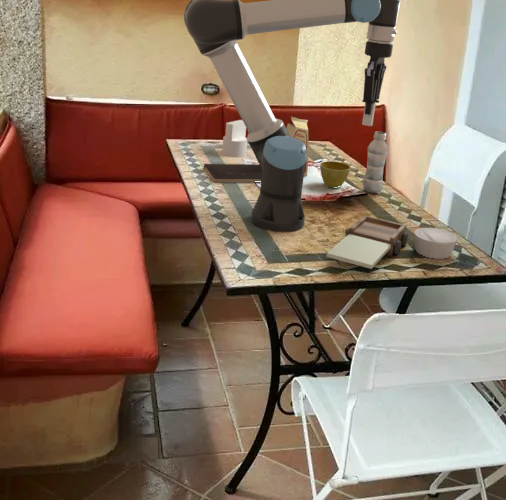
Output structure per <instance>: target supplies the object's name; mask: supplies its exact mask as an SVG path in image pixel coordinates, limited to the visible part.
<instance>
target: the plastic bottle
mask: <svg viewBox="0 0 506 500" xmlns="http://www.w3.org/2000/svg"><path fill="white" fill-rule="evenodd" d="M386 140H387V133H386V132H383V131H375V132H374V135H373V140H372V141H371V142H370V143H369V145H368V146H367V160H366V162H367V164H366V170H365V173H364V178H363V180H362V182H361V183H362V185H361V186H362V190H363V191H365V192H367V193H371V194H378V193H381V191H382V190H383V187H384V181H383V175H384V167H385V164H386V163H385V162H386V159H387V156H388V152H389V148H388V144H387V142H386Z"/></svg>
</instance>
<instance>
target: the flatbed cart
mask: <svg viewBox="0 0 506 500" xmlns="http://www.w3.org/2000/svg"><path fill="white" fill-rule="evenodd" d="M406 230H407V224H403V223H398V222H394V221H390V220H387V219H382V218H379V217H374V216H369V215H365V214H364V215H363V216H362V217H360V218H359V219H358V220H357V221H356V222H355V223H354V224H353V225H352V226H350V227H349V228H346V229H345V232H344V234H345V237H346V236H347V235H348V234H351V235H355V236H359V237H363V238H367V239H371V240H375V241H379V242H383V243H387V244H391V248H390V249H389V250H388V252H387V253H386V254H385V255H384V256H390V257H392V255H393V254H395V255H399V254H400V251H401V247H402V246H403V247H406V245H407V243H408V239H409V233H408V232H406ZM345 237H344V238H345Z"/></svg>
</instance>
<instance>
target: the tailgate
mask: <svg viewBox="0 0 506 500" xmlns="http://www.w3.org/2000/svg"><path fill="white" fill-rule="evenodd" d="M345 236H346V235H345ZM390 248H391V244H387V243H383V242H379V241H375V240H371V239H367V238H363V237H359V236H355V235H351V234H348V235H347V236H346V237H344V238H342V240H340V241H339V242H338V243H337V244H336V245H334V247H332V248H331V249H330V250H328V252H326V257H327V258H329V259H333V260H337V261H340V262H343V263H349V264H352V265H356V266H358V267H359V266H360V267H363V268H367V269H371V270H372V269H373V267H375V266H376V264H378V262H379V261H380V260H381V259H382V258H383V257H384V256H386V255H385V254H386V253H387V252H388V250H389V249H390Z"/></svg>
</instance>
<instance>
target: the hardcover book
mask: <svg viewBox="0 0 506 500" xmlns="http://www.w3.org/2000/svg"><path fill="white" fill-rule="evenodd" d="M203 169H204V170H205V171H206V173H207V174H208V176H209V177H210V178H211V180H212V181H213V182H214V183H232V184H233V183H235V184H236V183H244V184H245V183H246V184H247V183H248V184H249V183H252V184H253V183H255V181H261V176H262V169H261V166H260V164H259V163H258V164H257V163H256V164H254V163H252V164H251V163H250V164H248V163H247V164H245V163H244V164H243V163H235V164H234V163H232V164H231V163H204V165H203Z"/></svg>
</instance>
